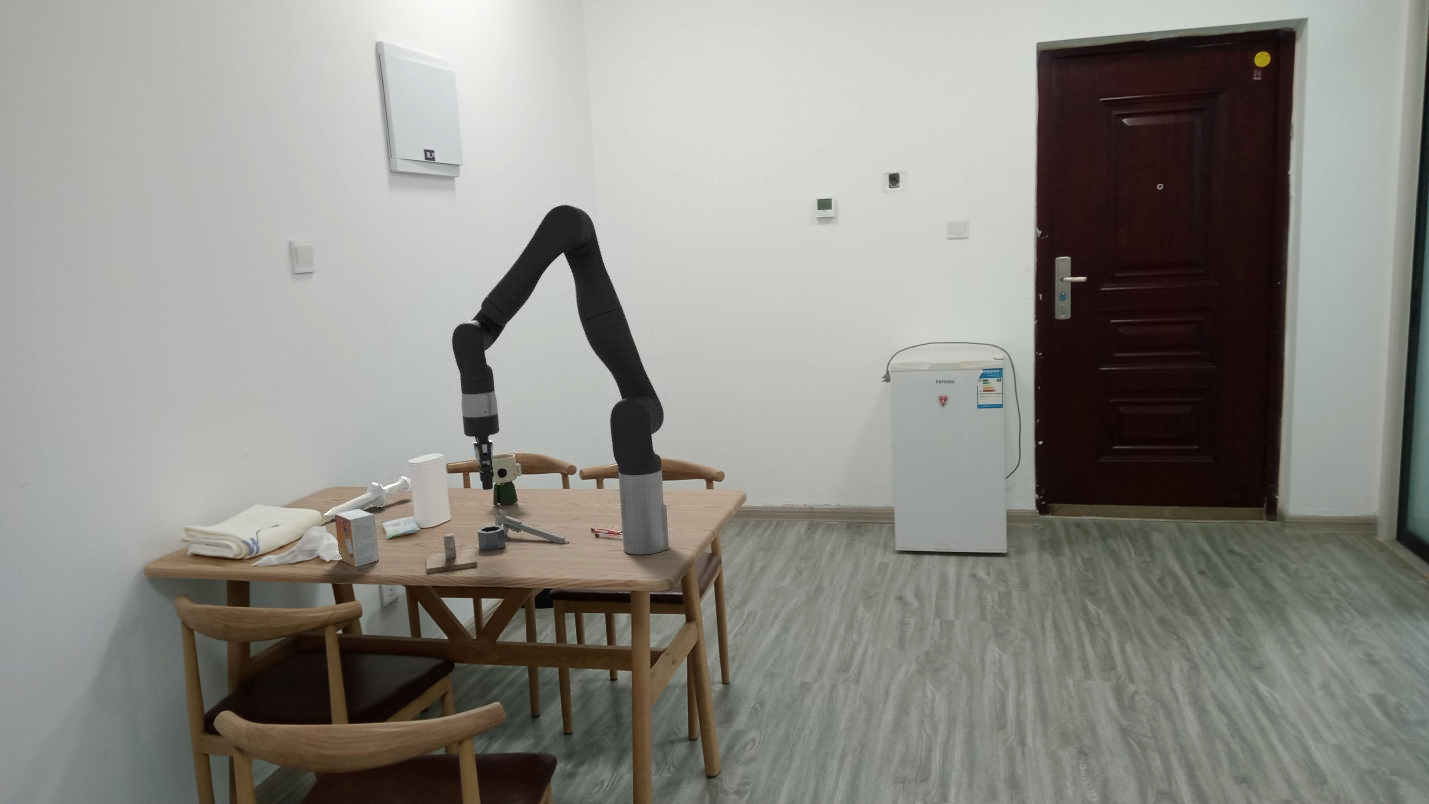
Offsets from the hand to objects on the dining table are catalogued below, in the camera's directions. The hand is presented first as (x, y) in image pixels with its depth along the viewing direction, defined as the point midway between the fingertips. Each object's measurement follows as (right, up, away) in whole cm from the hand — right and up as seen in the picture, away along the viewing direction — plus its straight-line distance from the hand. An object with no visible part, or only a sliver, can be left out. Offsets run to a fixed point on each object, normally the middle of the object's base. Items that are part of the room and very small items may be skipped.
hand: (486, 485), depth 206 cm
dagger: (-40, -10, +40) cm, 58 cm away
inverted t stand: (-5, -16, -8) cm, 19 cm away
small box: (-27, -16, -3) cm, 32 cm away
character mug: (-4, -9, +38) cm, 39 cm away
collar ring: (+1, -14, +2) cm, 14 cm away
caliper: (+9, -13, +7) cm, 17 cm away
